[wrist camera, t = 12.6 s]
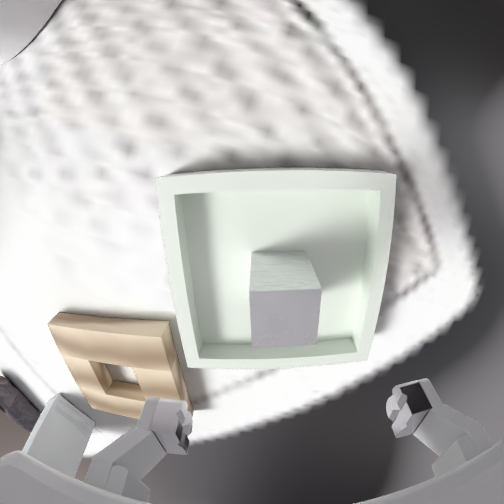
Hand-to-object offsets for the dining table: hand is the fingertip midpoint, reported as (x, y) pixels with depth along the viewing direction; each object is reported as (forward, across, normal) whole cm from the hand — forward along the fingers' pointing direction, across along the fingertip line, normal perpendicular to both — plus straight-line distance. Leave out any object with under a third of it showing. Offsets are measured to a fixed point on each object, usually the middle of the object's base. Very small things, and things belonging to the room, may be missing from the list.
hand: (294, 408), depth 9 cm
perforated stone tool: (+14, +49, +29) cm, 58 cm away
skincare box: (+14, +33, +27) cm, 44 cm away
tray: (+14, 0, +1) cm, 14 cm away
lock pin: (+13, 0, +1) cm, 13 cm away
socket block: (+14, +17, +13) cm, 25 cm away
